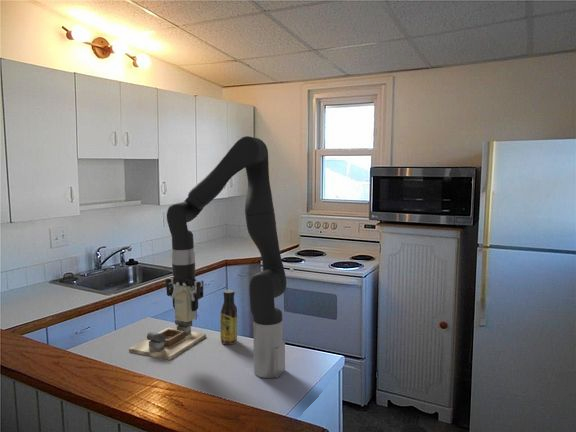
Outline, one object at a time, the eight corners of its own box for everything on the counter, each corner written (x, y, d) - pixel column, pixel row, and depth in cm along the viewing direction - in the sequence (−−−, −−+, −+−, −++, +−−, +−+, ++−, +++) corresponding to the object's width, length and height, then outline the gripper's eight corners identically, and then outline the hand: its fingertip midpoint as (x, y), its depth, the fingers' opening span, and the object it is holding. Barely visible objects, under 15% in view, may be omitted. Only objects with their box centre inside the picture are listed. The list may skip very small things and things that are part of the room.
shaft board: (205, 336, 174) (205, 319, 173) (170, 359, 154) (169, 339, 153) (168, 330, 181) (167, 313, 180) (128, 351, 161) (127, 332, 160)
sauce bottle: (217, 342, 169) (215, 290, 167) (230, 337, 174) (229, 287, 171) (227, 347, 165) (226, 294, 162) (241, 342, 169) (240, 290, 166)
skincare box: (174, 319, 153) (173, 284, 152) (184, 315, 157) (183, 281, 155) (187, 322, 150) (186, 287, 148) (197, 318, 153) (195, 284, 152)
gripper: (208, 260, 152) (209, 308, 154) (172, 257, 157) (174, 304, 159) (195, 265, 145) (197, 315, 147) (158, 262, 150) (161, 310, 152)
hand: (185, 309), depth 153 cm, fingers closed on skincare box, 6 cm apart
